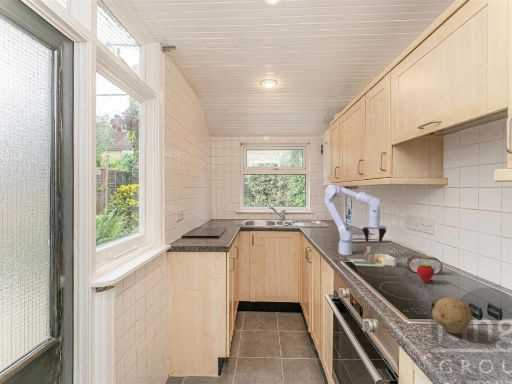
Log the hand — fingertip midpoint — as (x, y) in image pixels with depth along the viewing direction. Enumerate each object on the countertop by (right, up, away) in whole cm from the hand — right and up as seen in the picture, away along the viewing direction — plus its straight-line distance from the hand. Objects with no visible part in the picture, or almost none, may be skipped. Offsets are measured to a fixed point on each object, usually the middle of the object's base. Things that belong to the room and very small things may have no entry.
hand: (373, 241), depth 160 cm
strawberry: (+6, -12, -39) cm, 41 cm away
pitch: (-6, -10, -11) cm, 16 cm away
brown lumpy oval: (-13, -12, -81) cm, 83 cm away
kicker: (-7, -9, -11) cm, 16 cm away
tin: (+15, -12, -24) cm, 31 cm away
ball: (0, -8, -11) cm, 14 cm away
